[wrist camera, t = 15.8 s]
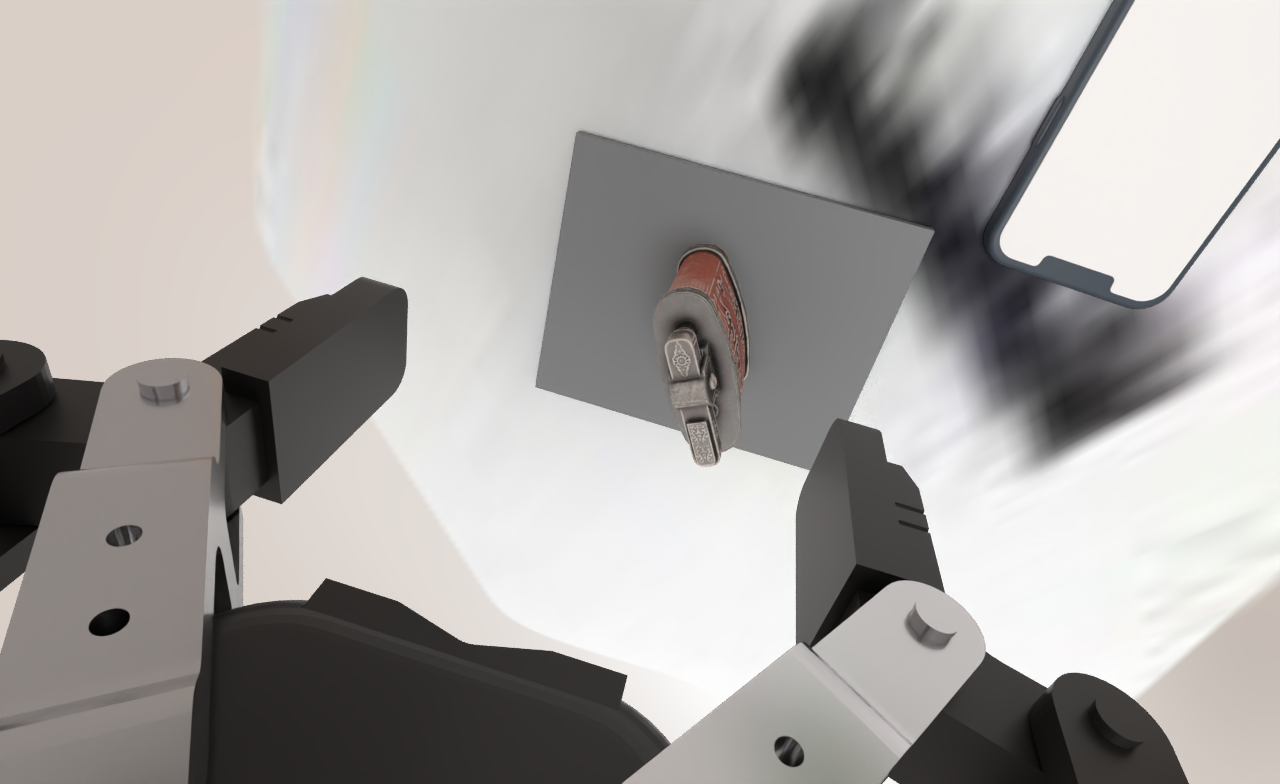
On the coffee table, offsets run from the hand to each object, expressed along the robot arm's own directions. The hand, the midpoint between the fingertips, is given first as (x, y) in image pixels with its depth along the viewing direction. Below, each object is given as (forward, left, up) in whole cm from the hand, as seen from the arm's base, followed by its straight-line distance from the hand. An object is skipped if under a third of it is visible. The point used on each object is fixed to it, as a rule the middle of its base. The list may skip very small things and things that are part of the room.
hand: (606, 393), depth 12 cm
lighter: (+8, +2, -24) cm, 25 cm away
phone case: (-7, +17, -25) cm, 31 cm away
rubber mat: (+8, +1, -24) cm, 25 cm away
